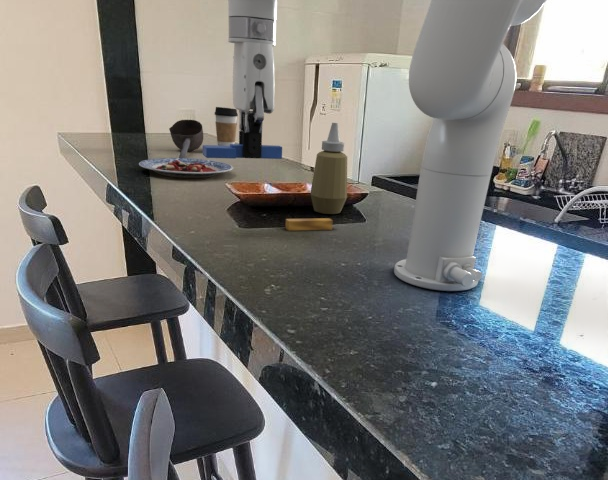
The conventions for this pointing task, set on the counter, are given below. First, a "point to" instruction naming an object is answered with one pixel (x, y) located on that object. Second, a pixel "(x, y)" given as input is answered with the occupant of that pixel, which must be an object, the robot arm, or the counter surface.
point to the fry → (309, 224)
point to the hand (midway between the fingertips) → (250, 156)
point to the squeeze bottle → (330, 175)
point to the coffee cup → (226, 125)
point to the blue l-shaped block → (240, 151)
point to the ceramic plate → (186, 167)
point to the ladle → (187, 136)
